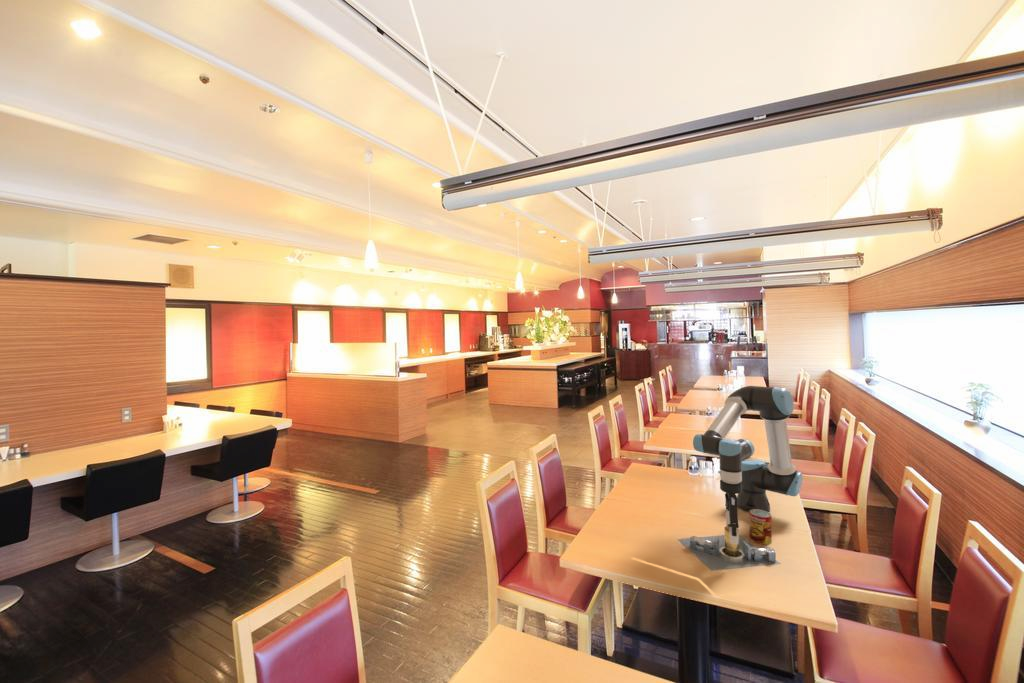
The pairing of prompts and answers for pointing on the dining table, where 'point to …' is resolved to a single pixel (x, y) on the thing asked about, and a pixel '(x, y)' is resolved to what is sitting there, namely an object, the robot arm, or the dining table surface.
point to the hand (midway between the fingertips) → (732, 535)
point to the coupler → (731, 548)
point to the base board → (717, 561)
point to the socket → (732, 559)
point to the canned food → (760, 526)
